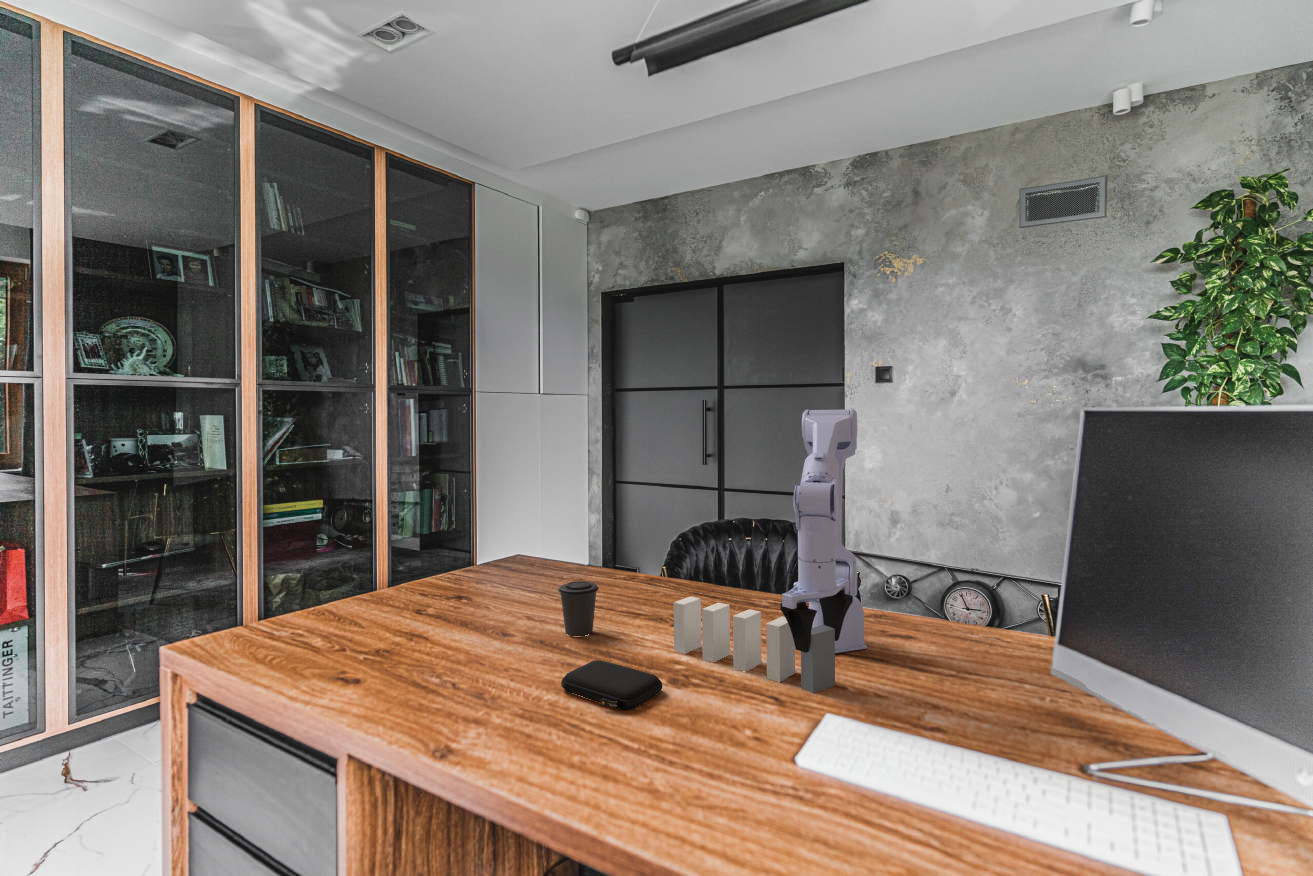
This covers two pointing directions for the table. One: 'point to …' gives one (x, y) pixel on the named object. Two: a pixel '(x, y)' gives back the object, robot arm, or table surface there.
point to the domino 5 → (819, 660)
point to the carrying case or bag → (612, 684)
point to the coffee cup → (578, 607)
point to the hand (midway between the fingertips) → (817, 644)
